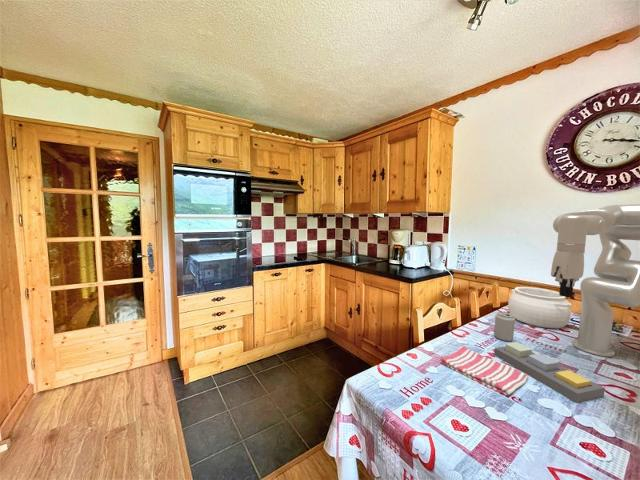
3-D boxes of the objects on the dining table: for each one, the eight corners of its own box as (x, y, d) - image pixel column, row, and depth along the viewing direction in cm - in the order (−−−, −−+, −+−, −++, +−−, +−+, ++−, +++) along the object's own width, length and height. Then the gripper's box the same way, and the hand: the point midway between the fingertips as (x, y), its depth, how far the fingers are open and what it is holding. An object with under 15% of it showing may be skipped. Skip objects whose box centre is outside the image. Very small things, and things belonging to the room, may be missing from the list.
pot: (494, 312, 153) (496, 286, 151) (528, 309, 159) (530, 284, 158) (546, 334, 125) (549, 301, 124) (585, 329, 132) (588, 298, 130)
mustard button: (567, 378, 88) (568, 370, 88) (589, 389, 82) (590, 380, 82) (554, 380, 86) (555, 372, 86) (576, 392, 81) (577, 383, 80)
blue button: (539, 361, 96) (540, 353, 96) (558, 370, 91) (558, 362, 90) (527, 363, 95) (528, 355, 95) (545, 372, 89) (546, 364, 89)
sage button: (516, 349, 105) (516, 342, 105) (531, 356, 99) (532, 349, 99) (504, 350, 104) (505, 343, 103) (519, 358, 98) (520, 351, 98)
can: (516, 342, 116) (518, 317, 115) (498, 341, 117) (500, 315, 116) (508, 335, 123) (510, 311, 122) (490, 333, 125) (492, 310, 124)
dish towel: (461, 351, 108) (461, 343, 108) (529, 380, 89) (530, 371, 89) (439, 364, 99) (439, 355, 98) (510, 400, 80) (511, 389, 79)
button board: (516, 351, 108) (517, 344, 108) (603, 396, 81) (604, 387, 81) (494, 354, 105) (494, 348, 105) (576, 402, 78) (577, 393, 78)
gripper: (572, 247, 101) (568, 292, 102) (544, 247, 97) (540, 294, 99) (597, 249, 93) (591, 298, 95) (567, 250, 90) (562, 300, 91)
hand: (565, 296), depth 97 cm, fingers closed
